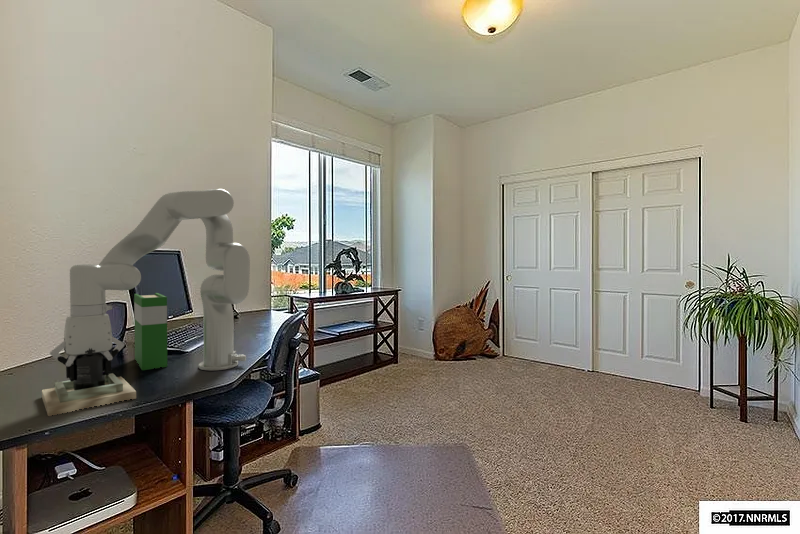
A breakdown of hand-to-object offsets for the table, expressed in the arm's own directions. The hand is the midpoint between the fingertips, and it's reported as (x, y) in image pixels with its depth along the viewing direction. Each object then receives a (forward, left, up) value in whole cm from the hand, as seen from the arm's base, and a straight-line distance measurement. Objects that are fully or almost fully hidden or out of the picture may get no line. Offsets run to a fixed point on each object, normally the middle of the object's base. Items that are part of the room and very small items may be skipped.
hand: (89, 376), depth 111 cm
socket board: (0, 0, -6) cm, 6 cm away
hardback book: (+1, -36, -6) cm, 36 cm away
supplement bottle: (0, 0, -3) cm, 3 cm away
